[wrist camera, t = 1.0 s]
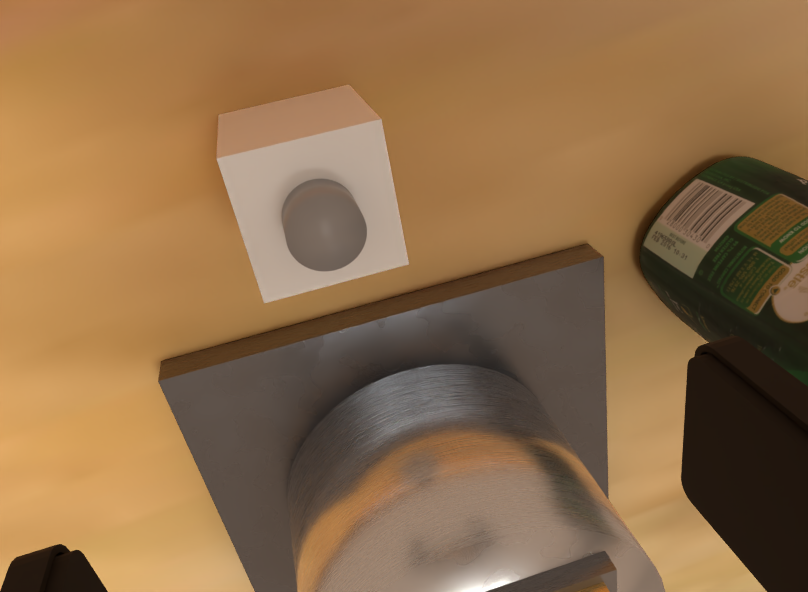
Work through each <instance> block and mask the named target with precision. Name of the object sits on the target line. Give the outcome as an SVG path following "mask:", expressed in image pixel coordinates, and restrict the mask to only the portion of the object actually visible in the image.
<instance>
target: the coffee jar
mask: <svg viewBox="0 0 808 592" xmlns="http://www.w3.org/2000/svg"><path fill="white" fill-rule="evenodd" d="M640 264H641V268H642V271H643V274H644V276H645V278H646V279H647V281H648V283H649V284H650V286H651V287H652V289H653V290H654V291H655V292H656V294H657V295H658V296H659V298H660V299H661V300H662V301H663V302H664V304H665V305H666V306H667V307H668V308H669V309H670V310H671V311H672V312H673V313H674V314H675V315H676V316H677V317H679V318H680V319H681V320H682V321H683V322H684V323H686V324H687V325H688V326H689V327H691V328H692V329H693V330H694V331H695V332H697V333H698V334H699V335H700V336H702V337H703V338H704V339H705V340H706V341H708V342H709V343H710V342H714V341H717V340H720V339H723V338H726V337H730V336H739V337H741V338H743V339H744V340H746V341H747V342H749V343H750V344H751V345H753V346H754V347H755V348H757V349H758V350H759V351H761V352H762V353H763V354H765V355H766V356H767V357H769V358H770V359H771V360H773V361H774V362H775V363H777V364H778V365H780V366H781V367H782V368H784V369H785V370H786V371H788V372H789V373H790V374H792V375H793V376H794V377H796V378H797V379H798V380H800V381H801V382H802V383H804V384H805V385H806V386H808V181H807V180H805V179H803V178H800V177H798V176H796V175H793V174H791V173H789V172H786V171H784V170H781V169H779V168H777V167H774V166H772V165H769V164H767V163H764V162H762V161H759V160H757V159H753V158H750V157H733V158H729V159H725V160H722V161H720V162H717V163H715V164H714V165H712V166H710V167H708V168H707V169H705V170H704V171H703V172H701V173H700V174H698V175H697V176H695V177H694V178H693V179H691V180H690V181H689V182H687V183H686V184H685V185H684V186H683V187H682V188H681V189H680V190H679V191H677V192H676V193H675V194H674V195H673V196H672V197H671V198H670V200H669V201H668V202H667V203H666V204H665V205H664V206H663V207H662V209H661V210H660V211H659V213H658V214H657V216H656V218H655V219H654V220H653V222H652V223H651V225H650V227H649V229H648V230H647V232H646V234H645V236H644V239H643V242H642V245H641V250H640Z"/></svg>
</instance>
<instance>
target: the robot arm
mask: <svg viewBox="0 0 808 592" xmlns="http://www.w3.org/2000/svg"><path fill="white" fill-rule="evenodd" d="M681 481H682V486H683V489H684V491H685V493H686V495H687V497H688V499H689V500H690V501H691V503H692V504H693V505H694V506H695V507H696V509H697V510H698V511H699V512H700V513H701V514H702V516H703V517H704V518H705V519H706V520H707V521H708V523H709V524H710V525H711V526H712V527H713V529H714V530H715V531H716V532H717V533H718V534H719V536H720V537H721V538H722V539H723V540H724V541H725V543H726V544H727V545H728V546H729V547H730V548H731V550H732V551H733V552H734V553H735V554H736V556H737V557H738V558H739V559H740V560H741V561H742V563H743V564H744V565H745V566H746V567H747V568H748V570H749V571H750V572H751V573H752V574H753V575H754V577H755V578H756V579H757V580H758V581H759V583H760V584H761V585H762V586H763V587H764V588H765V590H766V591H767V592H808V386H806V385H805V384H804V383H802V382H801V381H800V380H798V379H797V378H796V377H794V376H793V375H792V374H790V373H789V372H788V371H786V370H785V369H784V368H782V367H781V366H780V365H778V364H777V363H775V362H774V361H773V360H771V359H770V358H769V357H767V356H766V355H765V354H763V353H762V352H761V351H759V350H758V349H757V348H755V347H754V346H753V345H751V344H750V343H749V342H747V341H746V340H744V339H743V338H741V337H739V336H730V337H726V338H723V339H720V340H717V341H714V342H710V343H707V344H704V345H701V346H699V347H698V348H697V349H696V352H695V356H694V358H691V359H690V360H689V362H688V368H687V385H686V403H685V420H684V438H683V455H682V472H681ZM0 592H108V591H107V590H106V588H105V587H104V585H103V584H102V582H101V580H100V579H99V577H98V576H97V574H96V573H95V571H94V570H93V568H92V567H91V565H90V564H89V562H88V560H87V559H86V557H85V556H84V554H83V553H82V552H81V551H79V550H75V551H71V552H70V551H69V550H68V549H67V547H66V546H64V545H62V544H59V545H55V546H51V547H48V548H45V549H42V550H38V551H35V552H32V553H29V554H26V555H22V556H19V557H16V558H15V559H14V560H13V561H12V562H11V564H10V566H9V568H8V571H7V574H6V577H5V580H4V582H3V585H2V588H1V591H0Z"/></svg>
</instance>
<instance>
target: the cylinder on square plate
mask: <svg viewBox="0 0 808 592" xmlns="http://www.w3.org/2000/svg"><path fill="white" fill-rule="evenodd" d="M158 382H159V384H160V386H161V388H162V390H163V393H164V395H165V397H166V399H167V401H168V403H169V406H170V408H171V410H172V412H173V414H174V416H175V419H176V421H177V423H178V425H179V427H180V430H181V432H182V434H183V436H184V438H185V440H186V443H187V445H188V447H189V449H190V451H191V453H192V456H193V458H194V460H195V462H196V464H197V467H198V469H199V471H200V473H201V475H202V477H203V480H204V482H205V484H206V486H207V488H208V490H209V493H210V495H211V497H212V499H213V501H214V504H215V506H216V508H217V510H218V512H219V514H220V517H221V519H222V521H223V523H224V525H225V527H226V530H227V532H228V534H229V536H230V538H231V541H232V543H233V545H234V547H235V549H236V551H237V554H238V556H239V558H240V560H241V562H242V564H243V567H244V569H245V571H246V573H247V575H248V578H249V580H250V582H251V584H252V586H253V588H254V591H255V592H665V589H664V586H663V582H662V579H661V577H660V575H659V573H658V571H657V569H656V567H655V566H654V564H653V563H652V561H651V560H650V559H649V557H648V556H647V554H646V553H645V551H644V550H643V548H642V547H641V546H640V544H639V543H638V541H637V540H636V538H635V537H634V536H633V534H632V533H631V531H630V530H629V528H628V527H627V526H626V524H625V523H624V521H623V520H622V518H621V517H620V516H619V514H618V513H617V511H616V510H615V508H614V507H613V506H612V504H611V503H610V501H609V500H608V456H607V406H606V355H605V305H604V257H603V256H602V255H601V254H600V253H598V252H597V251H596V250H595V249H593V248H592V247H591V246H590V245H588V244H585V245H581V246H578V247H574V248H571V249H567V250H563V251H560V252H556V253H552V254H549V255H545V256H542V257H538V258H534V259H531V260H527V261H523V262H520V263H516V264H513V265H509V266H505V267H502V268H498V269H494V270H491V271H487V272H484V273H480V274H476V275H473V276H469V277H466V278H462V279H458V280H455V281H451V282H447V283H444V284H440V285H437V286H433V287H429V288H426V289H422V290H418V291H415V292H411V293H408V294H404V295H400V296H397V297H393V298H390V299H386V300H382V301H379V302H375V303H371V304H368V305H364V306H361V307H357V308H353V309H350V310H346V311H342V312H339V313H335V314H332V315H328V316H324V317H321V318H317V319H313V320H310V321H306V322H303V323H299V324H295V325H292V326H288V327H285V328H281V329H277V330H274V331H270V332H266V333H263V334H259V335H256V336H252V337H248V338H245V339H241V340H237V341H234V342H230V343H227V344H223V345H219V346H216V347H212V348H208V349H205V350H201V351H198V352H194V353H190V354H187V355H183V356H180V357H176V358H172V359H169V360H165V361H161V367H160V374H159V380H158Z"/></svg>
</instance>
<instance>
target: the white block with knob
mask: <svg viewBox="0 0 808 592" xmlns="http://www.w3.org/2000/svg"><path fill="white" fill-rule="evenodd" d="M216 159H217V162H218V165H219V168H220V171H221V174H222V177H223V180H224V183H225V186H226V189H227V192H228V195H229V198H230V201H231V204H232V207H233V210H234V213H235V216H236V219H237V222H238V225H239V228H240V232H241V235H242V238H243V241H244V244H245V247H246V250H247V253H248V256H249V259H250V262H251V265H252V268H253V271H254V274H255V277H256V280H257V283H258V286H259V289H260V292H261V295H262V298H263V301H264V303H268V302H272V301H275V300H279V299H283V298H286V297H290V296H294V295H298V294H301V293H305V292H309V291H312V290H316V289H320V288H323V287H327V286H331V285H335V284H338V283H342V282H346V281H349V280H353V279H357V278H360V277H364V276H368V275H372V274H375V273H379V272H383V271H386V270H390V269H394V268H397V267H401V266H405V265H409V261H408V256H407V251H406V245H405V240H404V235H403V230H402V224H401V219H400V214H399V209H398V204H397V198H396V193H395V188H394V183H393V177H392V172H391V167H390V162H389V156H388V151H387V146H386V141H385V136H384V130H383V125H382V120H381V118H380V117H379V116H378V115H377V114H376V113H375V112H374V111H373V110H372V108H371V107H370V106H369V105H368V104H367V103H366V102H365V101H364V100H363V99H362V98H361V97H360V96H359V94H358V93H357V92H356V91H355V90H354V89H353V88H352V87H351V86H350V85H349V84H348V85H344V86H340V87H336V88H331V89H327V90H323V91H318V92H314V93H310V94H305V95H301V96H297V97H292V98H288V99H284V100H279V101H275V102H271V103H267V104H262V105H258V106H254V107H249V108H245V109H241V110H236V111H232V112H228V113H223V114H219V116H218V137H217V157H216Z"/></svg>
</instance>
